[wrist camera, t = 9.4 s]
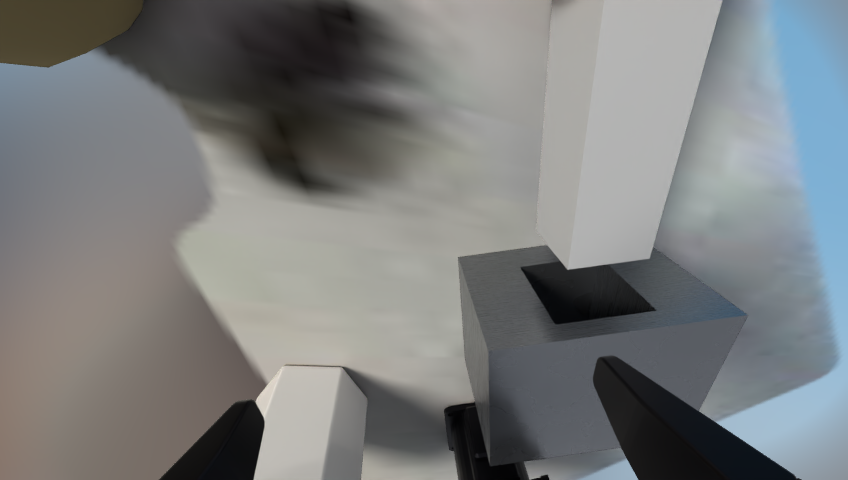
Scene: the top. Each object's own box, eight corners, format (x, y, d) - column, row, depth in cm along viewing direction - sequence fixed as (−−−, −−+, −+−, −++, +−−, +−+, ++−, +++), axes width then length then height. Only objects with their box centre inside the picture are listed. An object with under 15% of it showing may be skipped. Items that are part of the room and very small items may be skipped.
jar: (294, 345, 24) (217, 561, 14) (384, 383, 27) (376, 586, 16) (244, 408, 27) (149, 625, 17) (329, 436, 30) (294, 636, 20)
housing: (608, 339, 26) (684, 438, 19) (465, 359, 26) (490, 466, 19) (633, 233, 22) (748, 315, 15) (458, 257, 21) (488, 351, 14)
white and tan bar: (612, 209, 19) (705, 271, 13) (503, 223, 19) (550, 293, 13) (677, -122, 12) (925, -286, 7) (508, -102, 12) (608, -250, 6)
